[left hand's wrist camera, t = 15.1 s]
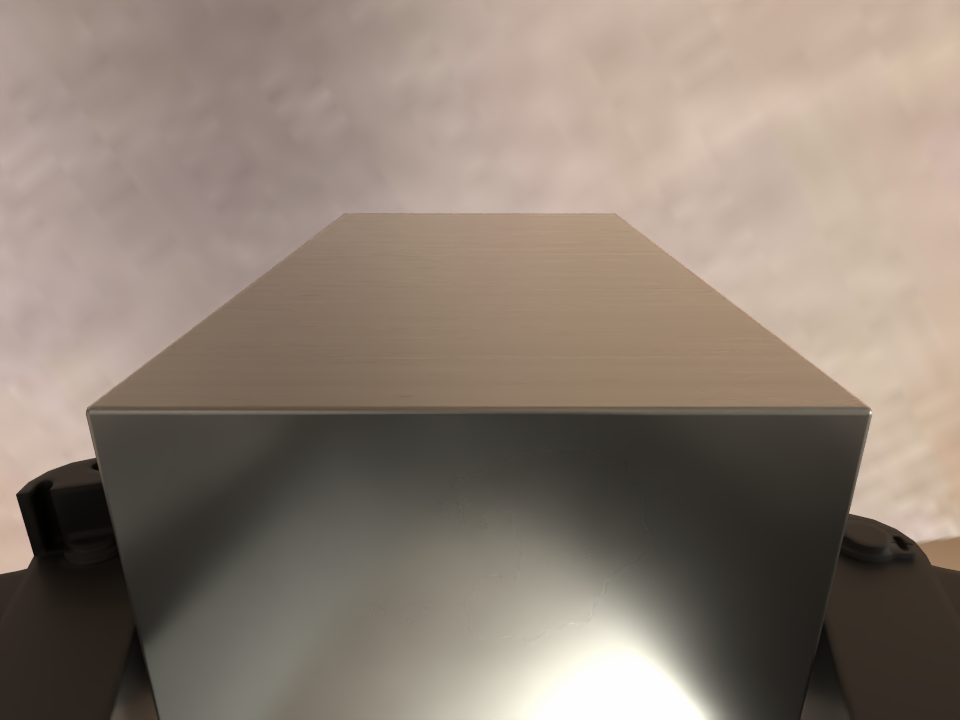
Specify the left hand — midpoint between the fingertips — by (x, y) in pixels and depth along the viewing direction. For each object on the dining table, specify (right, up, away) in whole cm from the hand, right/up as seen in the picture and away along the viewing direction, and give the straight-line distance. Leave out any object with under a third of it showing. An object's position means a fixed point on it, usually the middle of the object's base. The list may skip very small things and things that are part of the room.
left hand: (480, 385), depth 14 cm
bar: (0, -7, +3) cm, 8 cm away
